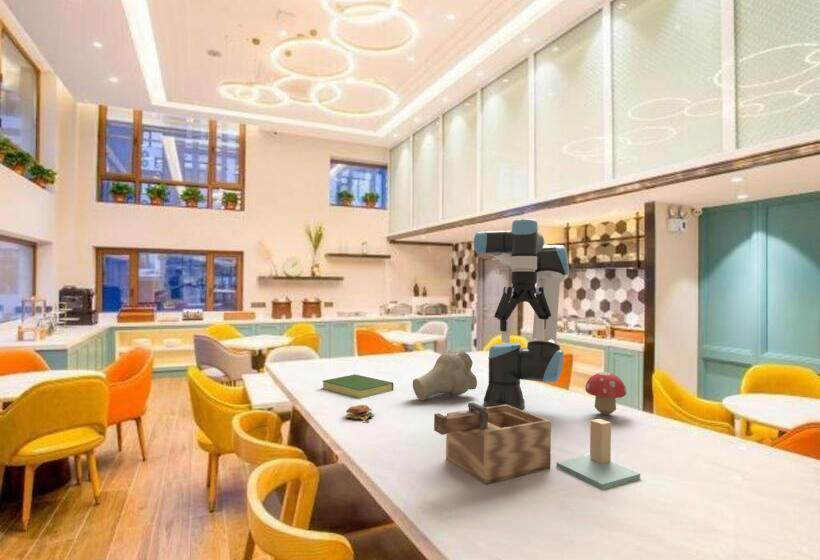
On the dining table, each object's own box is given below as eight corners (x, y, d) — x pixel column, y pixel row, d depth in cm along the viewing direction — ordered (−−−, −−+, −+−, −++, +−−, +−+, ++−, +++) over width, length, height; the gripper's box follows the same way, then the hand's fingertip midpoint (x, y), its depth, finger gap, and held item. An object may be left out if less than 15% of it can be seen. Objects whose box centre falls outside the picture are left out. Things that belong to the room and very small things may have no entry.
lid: (592, 459, 123) (593, 416, 123) (640, 479, 111) (640, 431, 111) (556, 468, 117) (557, 422, 117) (602, 490, 105) (603, 440, 105)
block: (480, 422, 113) (480, 407, 113) (489, 426, 110) (489, 410, 110) (434, 430, 107) (434, 413, 107) (442, 434, 104) (442, 417, 104)
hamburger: (333, 422, 152) (333, 404, 152) (353, 411, 166) (353, 394, 166) (372, 428, 148) (372, 409, 148) (389, 416, 161) (389, 399, 161)
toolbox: (505, 446, 131) (506, 386, 131) (550, 468, 116) (551, 400, 116) (431, 461, 119) (432, 395, 119) (470, 488, 104) (471, 412, 104)
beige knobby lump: (420, 374, 167) (479, 350, 181) (389, 356, 185) (444, 335, 199) (426, 427, 173) (482, 399, 187) (395, 404, 190) (449, 380, 205)
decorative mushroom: (578, 414, 164) (579, 372, 164) (593, 407, 174) (594, 367, 174) (618, 422, 155) (618, 377, 155) (631, 414, 165) (631, 372, 165)
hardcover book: (393, 391, 197) (393, 382, 197) (360, 399, 183) (360, 390, 183) (353, 382, 213) (353, 374, 213) (321, 389, 199) (321, 380, 199)
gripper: (545, 271, 149) (544, 337, 149) (483, 270, 137) (482, 341, 137) (563, 271, 142) (562, 340, 142) (499, 269, 130) (498, 345, 130)
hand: (523, 341), depth 140 cm, fingers open, 13 cm apart
